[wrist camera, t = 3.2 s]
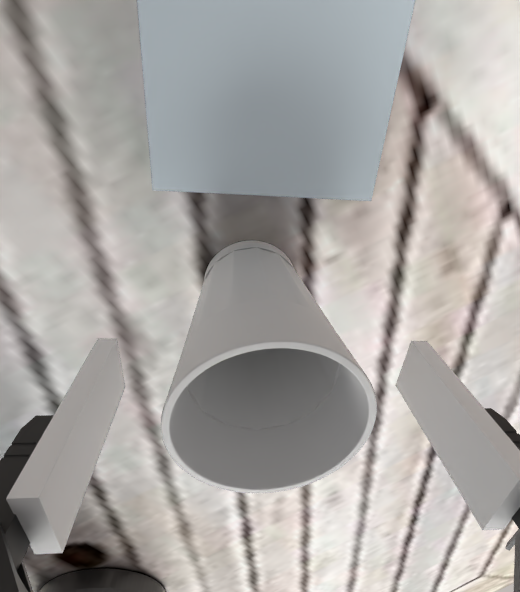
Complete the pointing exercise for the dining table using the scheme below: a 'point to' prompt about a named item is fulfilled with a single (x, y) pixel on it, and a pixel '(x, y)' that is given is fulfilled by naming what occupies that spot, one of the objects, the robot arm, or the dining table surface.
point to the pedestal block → (270, 93)
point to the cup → (263, 381)
